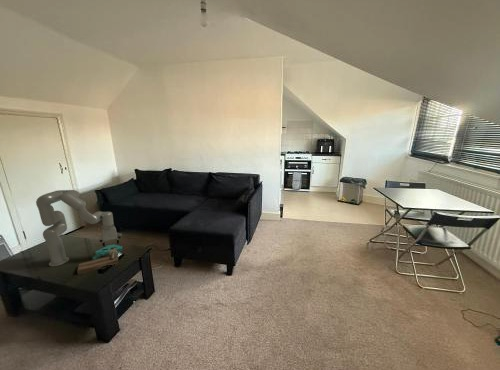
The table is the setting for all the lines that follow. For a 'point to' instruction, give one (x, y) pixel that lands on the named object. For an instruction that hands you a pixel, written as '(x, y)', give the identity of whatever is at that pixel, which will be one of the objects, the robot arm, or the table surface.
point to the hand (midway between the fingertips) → (111, 245)
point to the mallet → (112, 252)
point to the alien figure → (106, 250)
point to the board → (97, 264)
